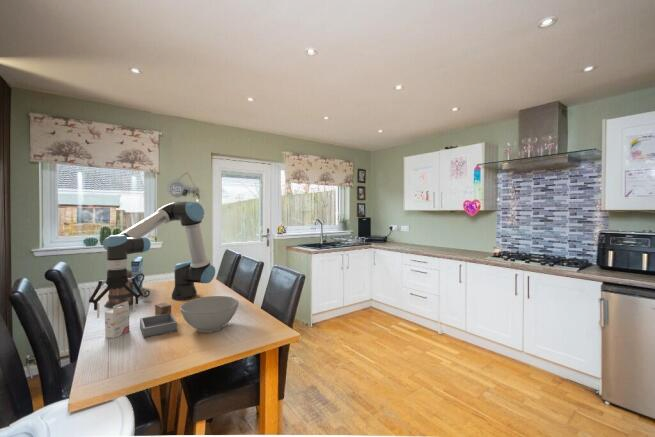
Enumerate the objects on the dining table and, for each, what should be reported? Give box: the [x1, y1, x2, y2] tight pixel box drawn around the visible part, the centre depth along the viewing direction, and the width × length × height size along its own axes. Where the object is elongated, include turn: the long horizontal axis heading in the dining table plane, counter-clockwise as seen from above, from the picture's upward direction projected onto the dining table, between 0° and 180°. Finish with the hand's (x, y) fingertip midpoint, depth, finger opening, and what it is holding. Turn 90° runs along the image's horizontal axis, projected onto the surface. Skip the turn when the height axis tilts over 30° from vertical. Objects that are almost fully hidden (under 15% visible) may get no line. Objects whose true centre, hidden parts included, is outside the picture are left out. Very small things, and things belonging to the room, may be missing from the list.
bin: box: [139, 312, 178, 339], centre depth 143 cm, size 14×16×4 cm
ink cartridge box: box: [104, 301, 130, 339], centre depth 137 cm, size 9×5×15 cm, turn 168°
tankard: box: [103, 269, 151, 309], centre depth 181 cm, size 24×17×20 cm
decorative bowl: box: [179, 295, 240, 333], centre depth 146 cm, size 27×27×12 cm
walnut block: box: [154, 302, 172, 316], centre depth 155 cm, size 5×7×8 cm
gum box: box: [130, 256, 144, 294], centre depth 206 cm, size 20×5×23 cm, turn 26°
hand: (116, 314), depth 136 cm, fingers open, 13 cm apart
